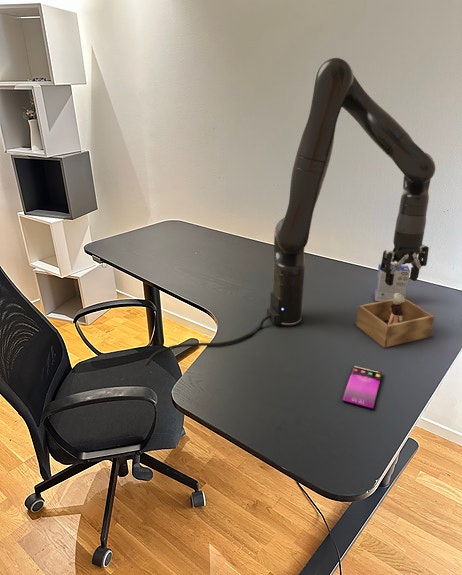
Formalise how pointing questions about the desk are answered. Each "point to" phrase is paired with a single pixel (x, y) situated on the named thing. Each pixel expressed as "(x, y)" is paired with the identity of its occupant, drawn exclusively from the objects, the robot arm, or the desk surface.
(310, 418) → the desk surface
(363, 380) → the smartphone
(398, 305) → the grandmother figurine
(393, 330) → the birch box
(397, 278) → the ink cartridge box
